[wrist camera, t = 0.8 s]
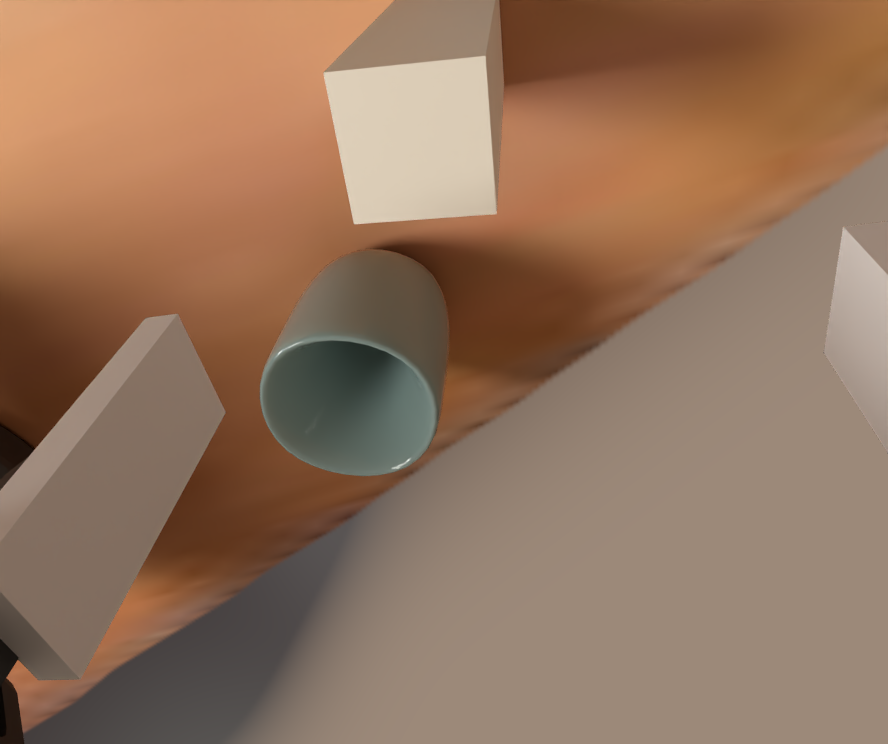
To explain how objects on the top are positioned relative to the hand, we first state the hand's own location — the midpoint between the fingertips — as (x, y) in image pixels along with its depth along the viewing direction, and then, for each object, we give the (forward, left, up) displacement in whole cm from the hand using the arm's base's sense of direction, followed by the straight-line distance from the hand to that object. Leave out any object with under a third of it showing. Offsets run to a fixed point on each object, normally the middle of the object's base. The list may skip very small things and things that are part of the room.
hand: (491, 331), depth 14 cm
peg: (-2, +2, -20) cm, 20 cm away
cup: (-7, -10, -20) cm, 23 cm away
